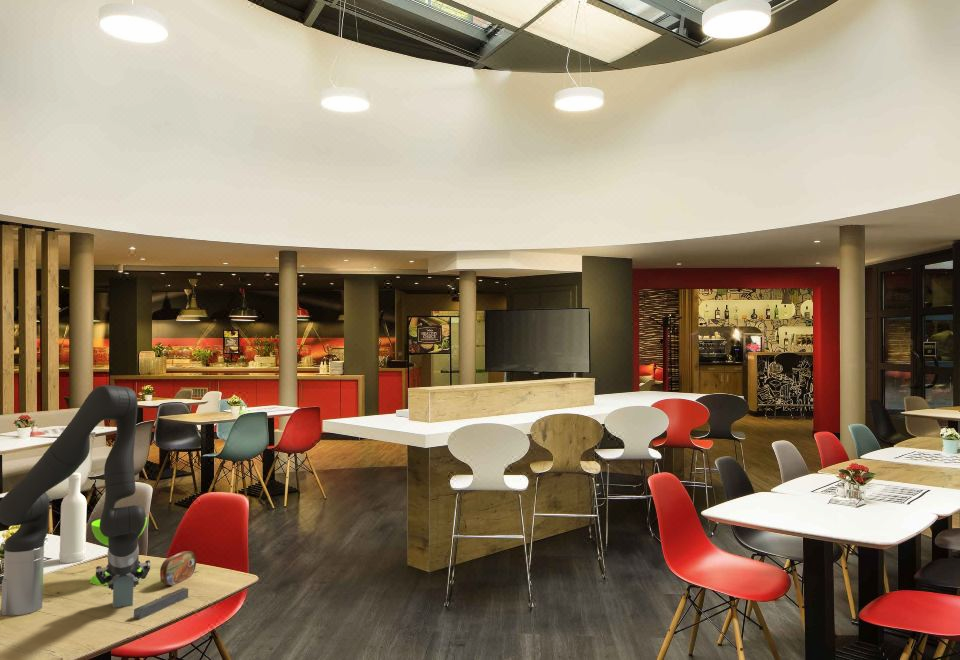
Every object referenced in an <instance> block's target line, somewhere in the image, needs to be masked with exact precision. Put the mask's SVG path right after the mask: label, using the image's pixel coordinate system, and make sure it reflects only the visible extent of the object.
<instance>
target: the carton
mask: <svg viewBox="0 0 960 660" xmlns="http://www.w3.org/2000/svg"><path fill="white" fill-rule="evenodd" d="M134 589H135V587H133V579H131V578H130V577H129V576H122V577H118V578H117V580H116V581H114V582H113V590H112V591H113V592H112V593H113V594H112V608H113V607H116V608H122V607H121V606H123V607H127V606H128V607H129V605H130V606H133V604H134Z"/></svg>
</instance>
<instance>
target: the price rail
mask: <svg viewBox="0 0 960 660" xmlns="http://www.w3.org/2000/svg"><path fill="white" fill-rule="evenodd" d="M187 598H189V588H187V587H182V588H179V589H177V590H175V591H173V592H169V593H166V594H164V595H162V596H161V597H158V598H156V599H155V600H152V601H150V602H147V603H145V604H143V605H141V606H138V607H136V608H134V609H133V619H134V620H139V619H140V620H141V619H143V618H144V619H145V617H148V616H151V615H152V614H155V613H157V612H159V611H162V610H163V609H166V608H168V607H171V606H172V605H174V604H176V602H177V603H179V602H181V601H183V600H184V599H187Z"/></svg>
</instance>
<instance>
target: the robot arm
mask: <svg viewBox="0 0 960 660" xmlns="http://www.w3.org/2000/svg"><path fill="white" fill-rule="evenodd" d="M138 402H139V401H138V396H137V393H136V391H135V390H133V388H130V387H127V386H120V385H109V384H108V385H107V384H106V385H105V384H104V385H98V386H96V387H95V388H94V389H92V391H91V392H90V393H89V394H88V395H87V397H86V398H85V400H84V401H83V402H82V404H81V405H80V408H79V409H78V410H77V412H76V413H75V415H74V416H73V418H72V420H71V421H70V422H69V423H68V424H67V426H66V427H65V428H64V429H63V431H62V432H61V433H60V434H59V436H58V437H57V438H56V439H55V440H54V441H53V442H52V444H51V445H50V446H49V447H48V448H47V449H46V451H45V452H44V453H43V455H41V457H40V458H39V460H37V462H36V463H35V464H34V465H33V466H32V468H31V469H29V471H28V472H27V473H26V474H25V476H23V477H22V479H21V480H19V482H17V484H15V485H14V486H13V487H12V488H11V489H10V490H9V491H8V492H7V493H6V494H5V495H4V496H3V497H2V499H1V500H0V523H1V524H2V525H4V526H7V527H15V526H19V528H18V529H17V530H16V531H15V532H14V533H13V534H11V535H10V536H9V537H8V538H6V539H5V542H4V555H3V559H4V560H3V563H4V564H3V579H2V581H1V598H0V599H1V601H0V604H1V605H0V616H22V615H27V614H31V613H33V612H37V611H39V610H40V609H42V607H43V599H44V597H43V596H44V593H43V592H44V567H45V565H44V563H45V561H44V560H45V556H44V555H45V539H46V537H47V535H48V531H49V530H48V528H49V520H50V519H49V517H50V499H49V496H48V494H47V492H48V491H50V490H51V489H53V488H55V487H56V486H58V485H59V484H61V483H62V482H64V481H65V480H67V479H68V477H69V476H71V475H72V474H73V473H76V471H78V469H79V468H80V466H82V464H83V463H84V462H85V460H86V459H87V457H88V456H89V453H90V450H91V449H90V448H91V443H90V442H91V441H90V439H91V437H90V436H91V433H92V432H93V431H94V430H95V428H96V427H97V426H98V425H99V424H100V423H102V421H107V420H108V421H115V425H116V426H115V427H116V435H115V439H114V441H113V442H114V443H113V444H112V447H111V449H110V451H109V453H108V455H107V458H106V460H105V464H104V469H103V472H104V476H103V478H104V490H105V491H104V492H105V494H104V496H105V497H104V504H103V509H102V511H101V512H102V513H101V515H100V516H101V517H100V531H101V533H102V534H103V535H104V536H106V537H108V546H107V547H108V548H107V556H106V557H107V565H106V567H102V566H101V565H98V566H96V568H95V575H96V577H97V579H98V580H99V582H100V583H101V584H105V583H108V586H107V588H108V589H110V590H111V591H113V582H114V581H116V580H117V578H118V577H122V576H129V577H130V578H131V579H133V587H134V588H137V586H138V585H139V580H145V579H146V578H147V576H148V573H149V572H150V570H151V560H149V559H148V560H146V561H145V562H141V561H140V560H139V558H140V557H139V556H140V555H139V554H140V549H139V538H138V537H140V536H141V535H140V533H141V532H142V530H143V528H144V525H145V521H146V517H147V513H146V512H145V510H144V508H143V507H142V506H140V505H136V504H133V505H132V504H131V505H127V506H121V507H115V505H116V503H117V502H119V501H120V500H124V499H126V498H128V497H132V496H134V495H135V493H136V490H137V489H136V476H135V460H134V459H135V457H134V456H135V455H134V454H135V453H134V452H135V451H134V450H135V441H136V431H137V420H138V407H139V406H138V404H139V403H138ZM139 535H140V536H139ZM139 568H141V569H142V570H141V572H139V571H138V569H139ZM105 572H107V573H109V575H108V576H106V574H105ZM140 578H141V579H140Z"/></svg>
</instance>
